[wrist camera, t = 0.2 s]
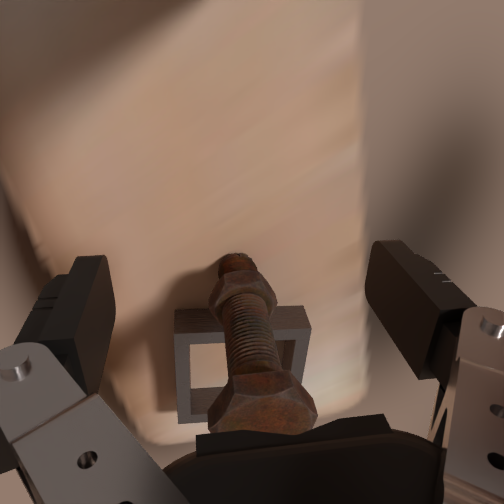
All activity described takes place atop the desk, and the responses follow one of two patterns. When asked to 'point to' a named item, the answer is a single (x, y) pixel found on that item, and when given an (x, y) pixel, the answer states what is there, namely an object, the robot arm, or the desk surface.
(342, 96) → the desk surface
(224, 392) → the bolt
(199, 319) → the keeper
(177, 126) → the desk surface
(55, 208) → the desk surface
